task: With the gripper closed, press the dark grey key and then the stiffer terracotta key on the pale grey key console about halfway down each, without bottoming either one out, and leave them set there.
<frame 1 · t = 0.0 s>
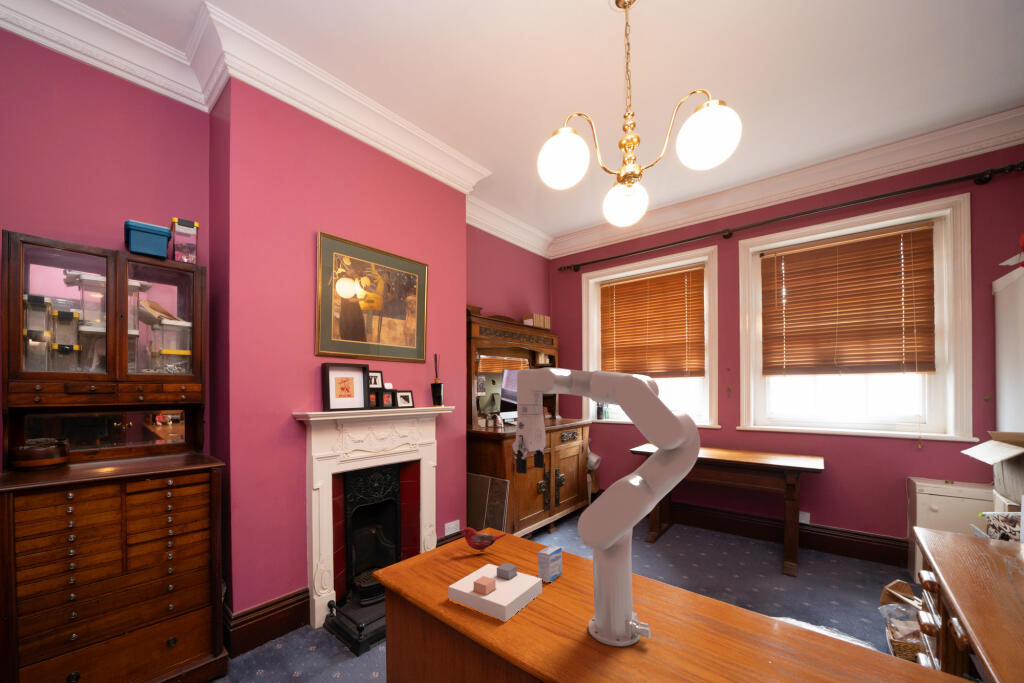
hand: (530, 470, 121), 37 cm above the table, tool pointing down, fingers open, 9 cm apart
grey key: (506, 572, 126), point 5 cm above the table, slide at 0.0 cm
key console: (496, 597, 121), on the table
terracotta key: (484, 586, 117), point 5 cm above the table, slide at 0.0 cm
medicine box: (550, 578, 133), on the table
decorative bird figurine: (484, 554, 153), on the table
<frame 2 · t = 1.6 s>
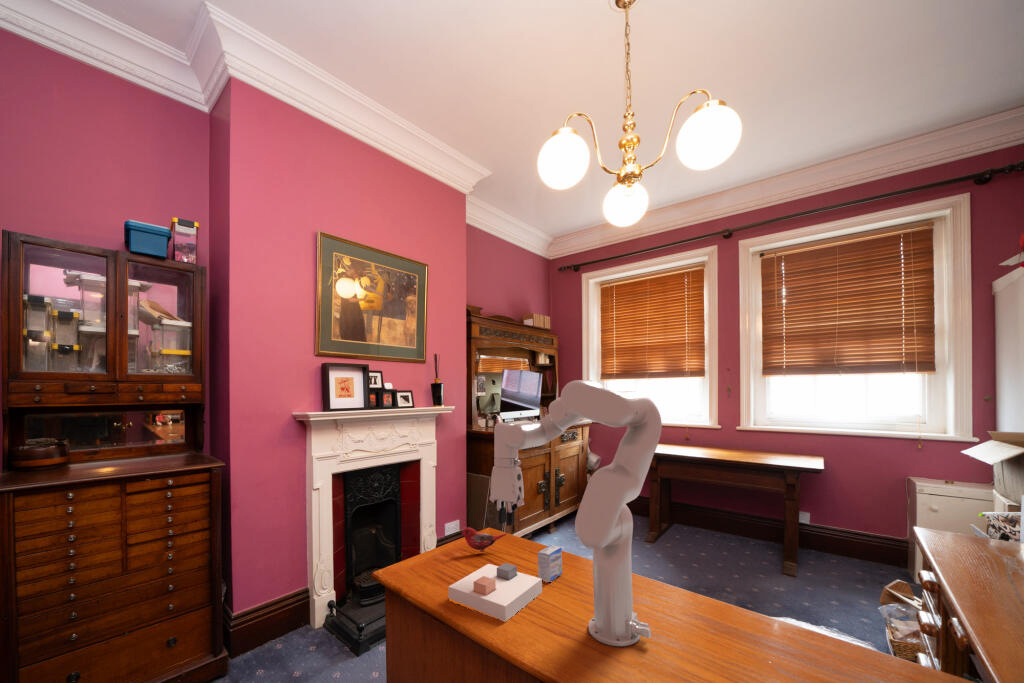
hand: (506, 523, 127), 19 cm above the table, tool pointing down, fingers closed
nothing on the table moved.
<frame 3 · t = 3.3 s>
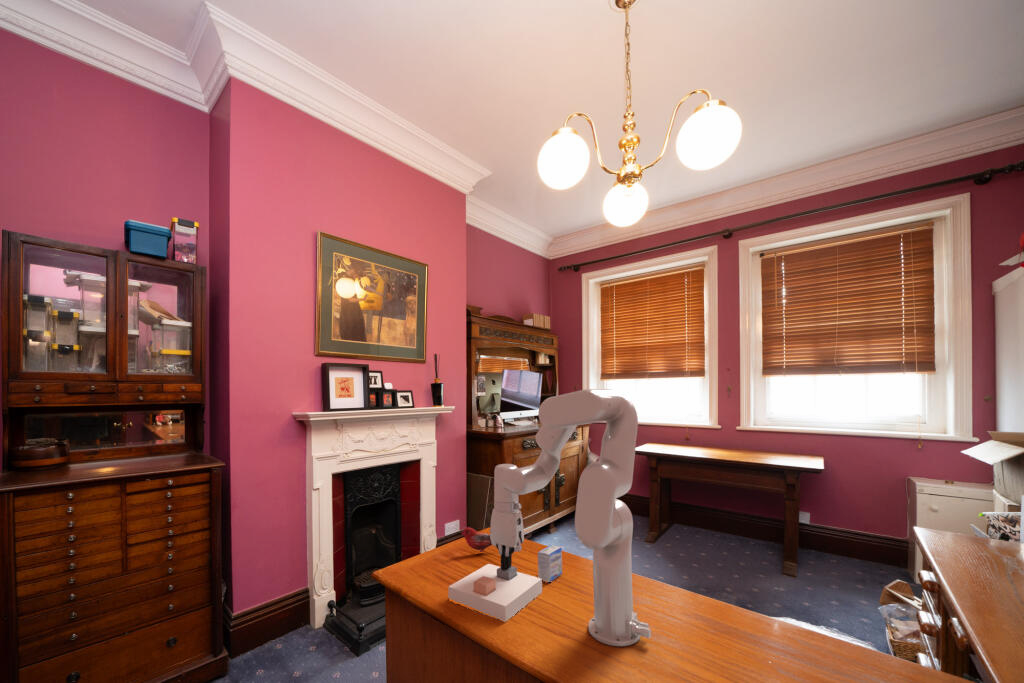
hand: (506, 567, 126), 6 cm above the table, tool pointing down, fingers closed
grey key: (506, 573, 126), point 5 cm above the table, slide at 0.4 cm, touching gripper
everything else where it was.
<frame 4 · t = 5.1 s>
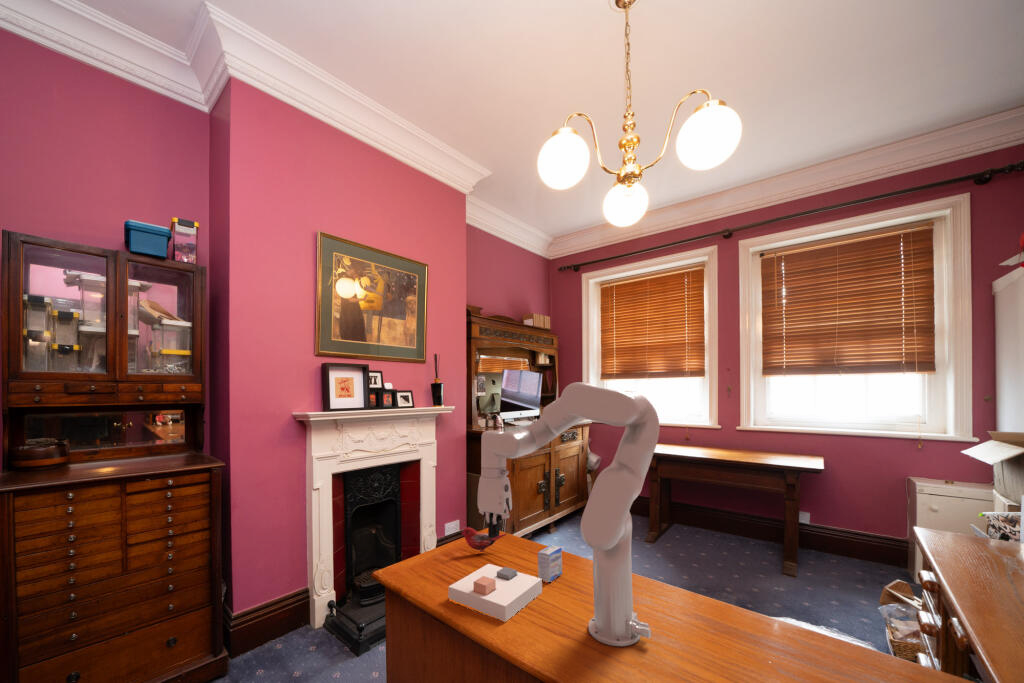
hand: (493, 536, 122), 17 cm above the table, tool pointing down, fingers closed
grey key: (506, 576, 126), point 4 cm above the table, slide at 1.2 cm
everything else where it was.
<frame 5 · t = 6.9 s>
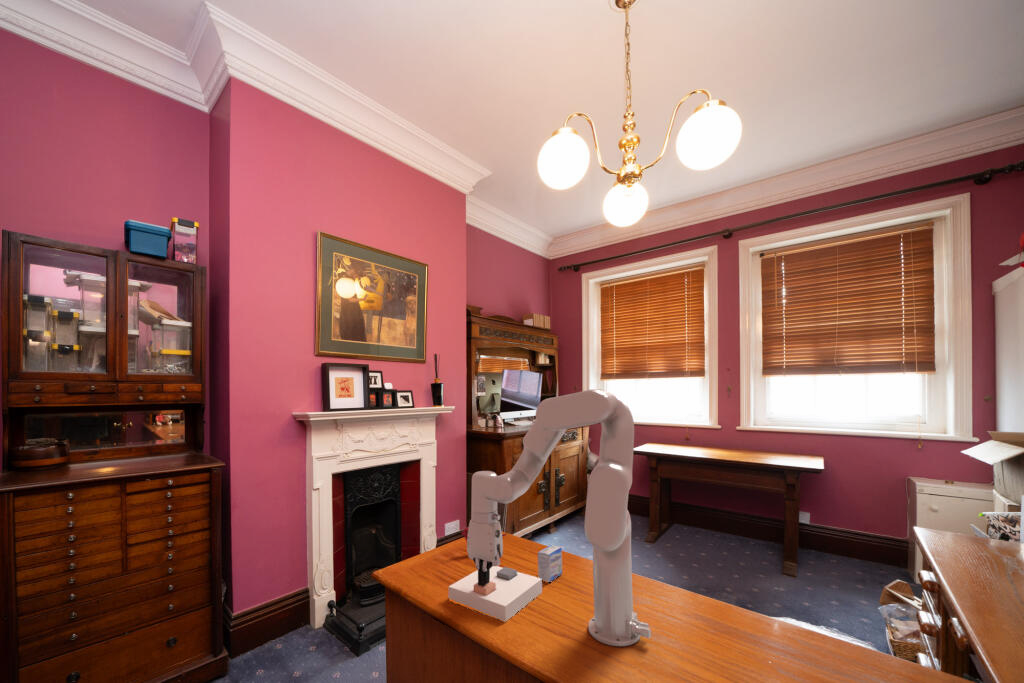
hand: (483, 583, 117), 6 cm above the table, tool pointing down, fingers closed
terracotta key: (484, 589, 117), point 4 cm above the table, slide at 0.9 cm, touching gripper
everything else where it was.
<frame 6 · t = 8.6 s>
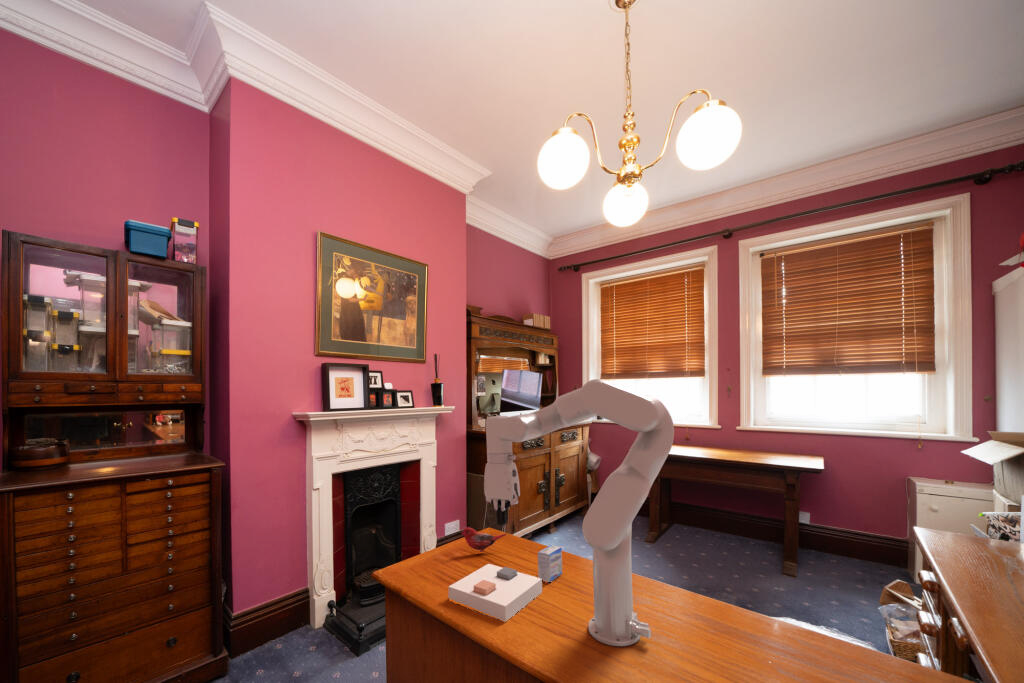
hand: (502, 523, 119), 22 cm above the table, tool pointing down, fingers closed
terracotta key: (484, 590, 117), point 4 cm above the table, slide at 1.1 cm
everything else where it was.
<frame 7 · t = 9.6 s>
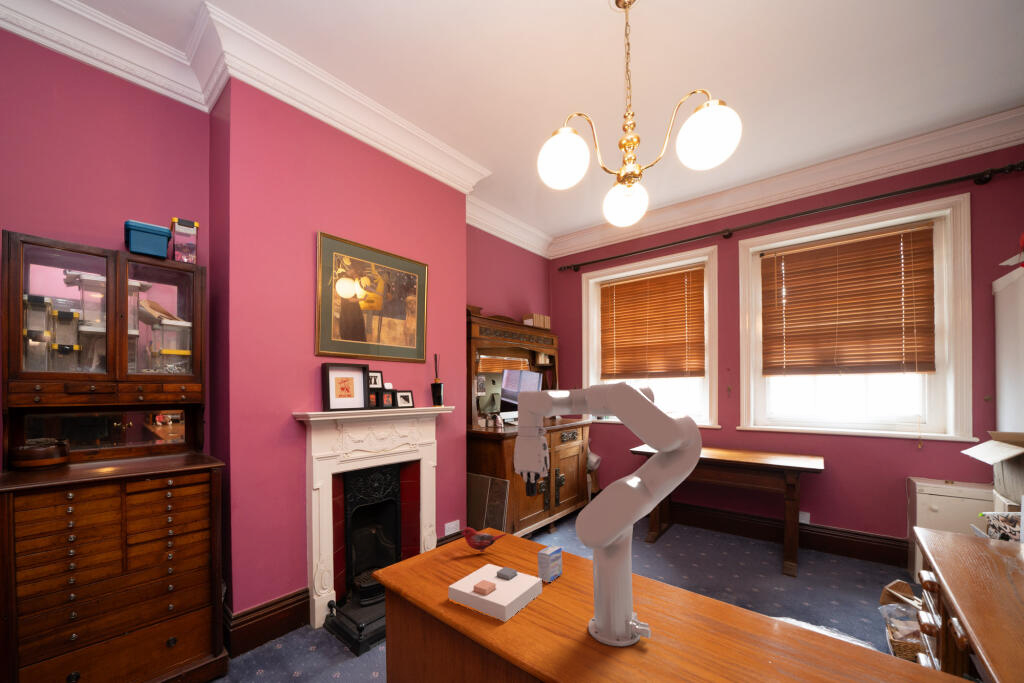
hand: (531, 495, 122), 29 cm above the table, tool pointing down, fingers closed
nothing on the table moved.
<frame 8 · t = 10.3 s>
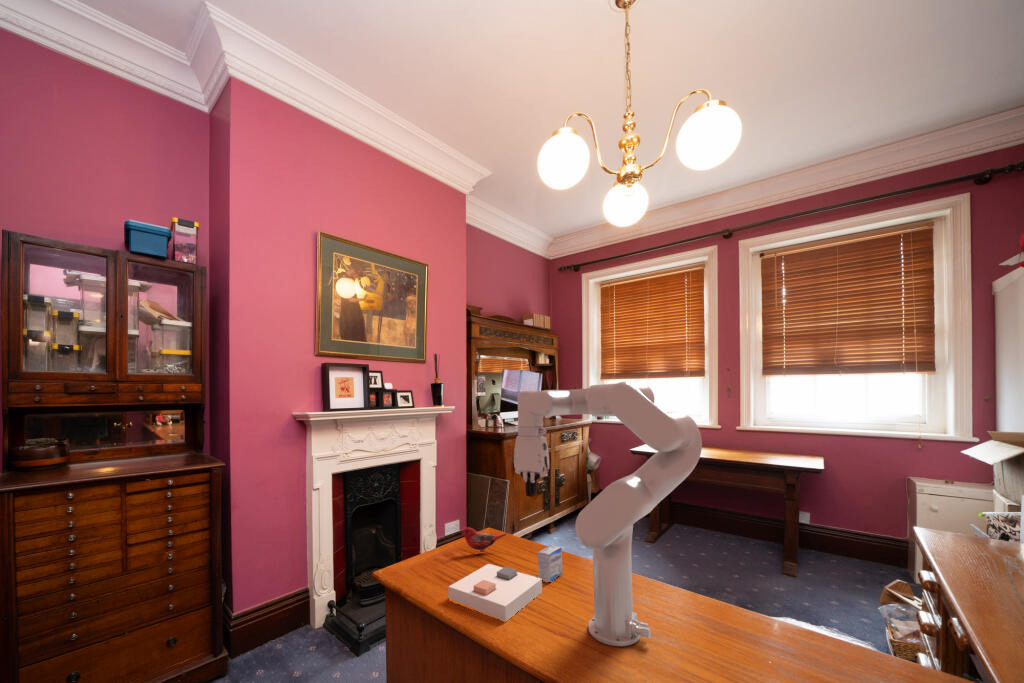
hand: (531, 495, 122), 29 cm above the table, tool pointing down, fingers closed
nothing on the table moved.
at the end: grey key slide at 1.2 cm; terracotta key slide at 1.1 cm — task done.
